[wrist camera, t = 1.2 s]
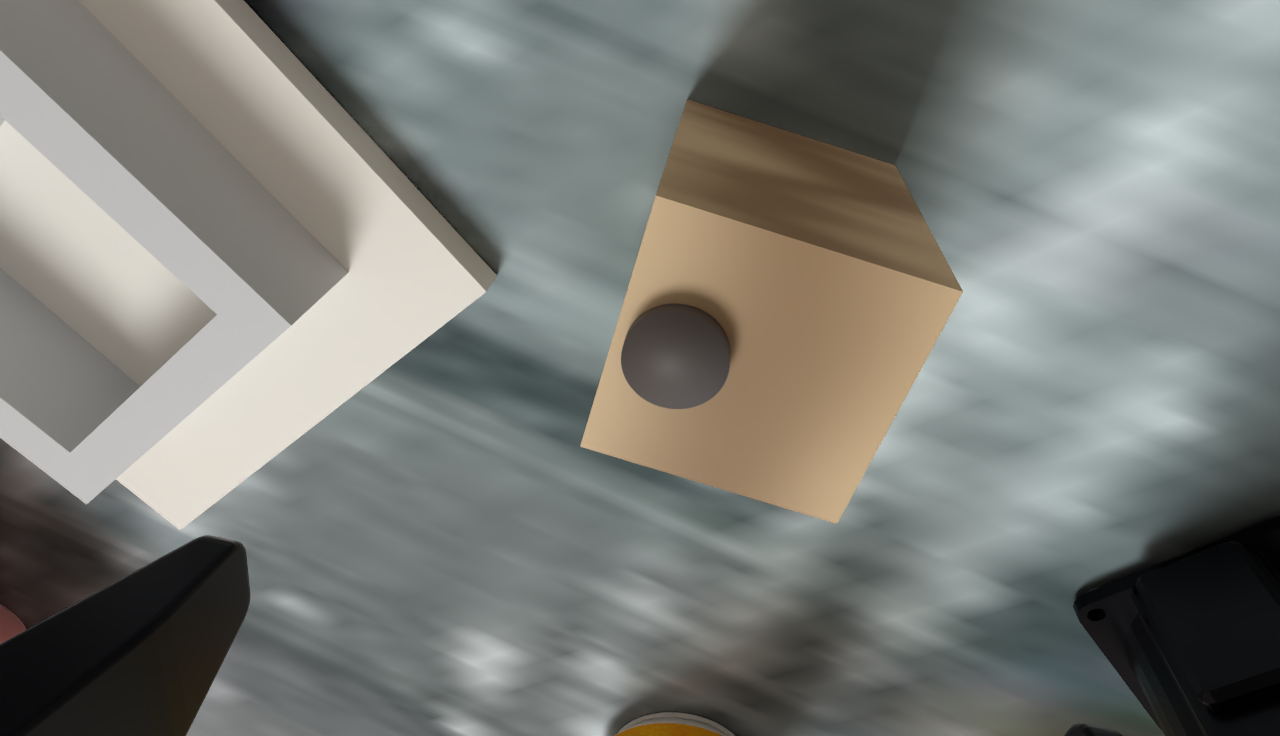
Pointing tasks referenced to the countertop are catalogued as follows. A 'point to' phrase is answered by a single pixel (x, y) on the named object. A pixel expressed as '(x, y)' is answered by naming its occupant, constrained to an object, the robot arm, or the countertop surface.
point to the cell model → (9, 624)
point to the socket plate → (194, 248)
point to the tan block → (770, 316)
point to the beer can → (673, 726)
